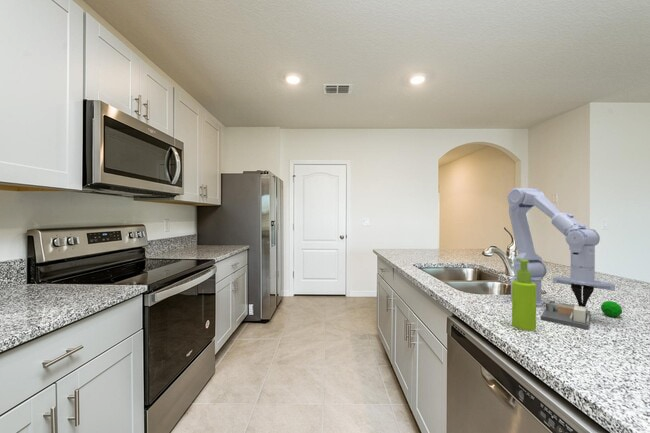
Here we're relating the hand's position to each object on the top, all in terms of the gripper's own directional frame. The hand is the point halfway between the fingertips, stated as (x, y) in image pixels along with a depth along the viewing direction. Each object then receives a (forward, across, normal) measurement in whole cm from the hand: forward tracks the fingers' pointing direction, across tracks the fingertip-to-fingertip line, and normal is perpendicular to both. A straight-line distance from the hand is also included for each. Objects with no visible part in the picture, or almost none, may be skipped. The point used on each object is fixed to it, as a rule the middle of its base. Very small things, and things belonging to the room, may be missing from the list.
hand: (582, 309), depth 90 cm
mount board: (+3, -4, -1) cm, 5 cm away
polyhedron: (+4, +7, +11) cm, 13 cm away
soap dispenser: (+3, -12, -20) cm, 24 cm away
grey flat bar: (+1, -3, 0) cm, 3 cm away
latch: (+2, 0, -6) cm, 6 cm away
